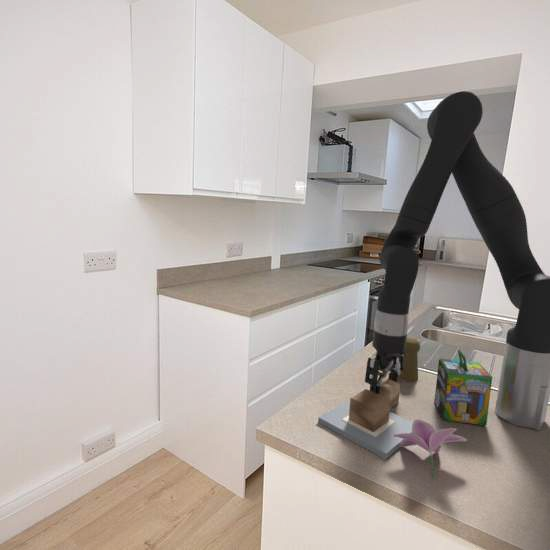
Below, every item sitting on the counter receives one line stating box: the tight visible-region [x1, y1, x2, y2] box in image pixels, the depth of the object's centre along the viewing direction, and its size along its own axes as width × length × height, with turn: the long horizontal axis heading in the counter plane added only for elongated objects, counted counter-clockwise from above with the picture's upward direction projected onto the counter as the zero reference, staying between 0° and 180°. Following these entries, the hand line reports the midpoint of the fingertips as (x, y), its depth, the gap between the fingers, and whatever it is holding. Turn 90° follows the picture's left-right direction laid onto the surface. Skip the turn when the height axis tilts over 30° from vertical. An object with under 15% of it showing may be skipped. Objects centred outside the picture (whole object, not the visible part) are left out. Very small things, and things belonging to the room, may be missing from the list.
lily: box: [393, 419, 468, 479], centre depth 67 cm, size 12×12×10 cm
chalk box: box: [433, 348, 493, 426], centre depth 84 cm, size 9×9×15 cm
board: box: [317, 398, 414, 460], centre depth 78 cm, size 16×14×1 cm
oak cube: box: [377, 377, 401, 409], centre depth 88 cm, size 5×5×5 cm
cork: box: [398, 337, 421, 383], centre depth 102 cm, size 6×6×11 cm
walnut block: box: [349, 388, 391, 432], centre depth 78 cm, size 6×6×5 cm
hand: (383, 393), depth 89 cm, fingers open, 8 cm apart
